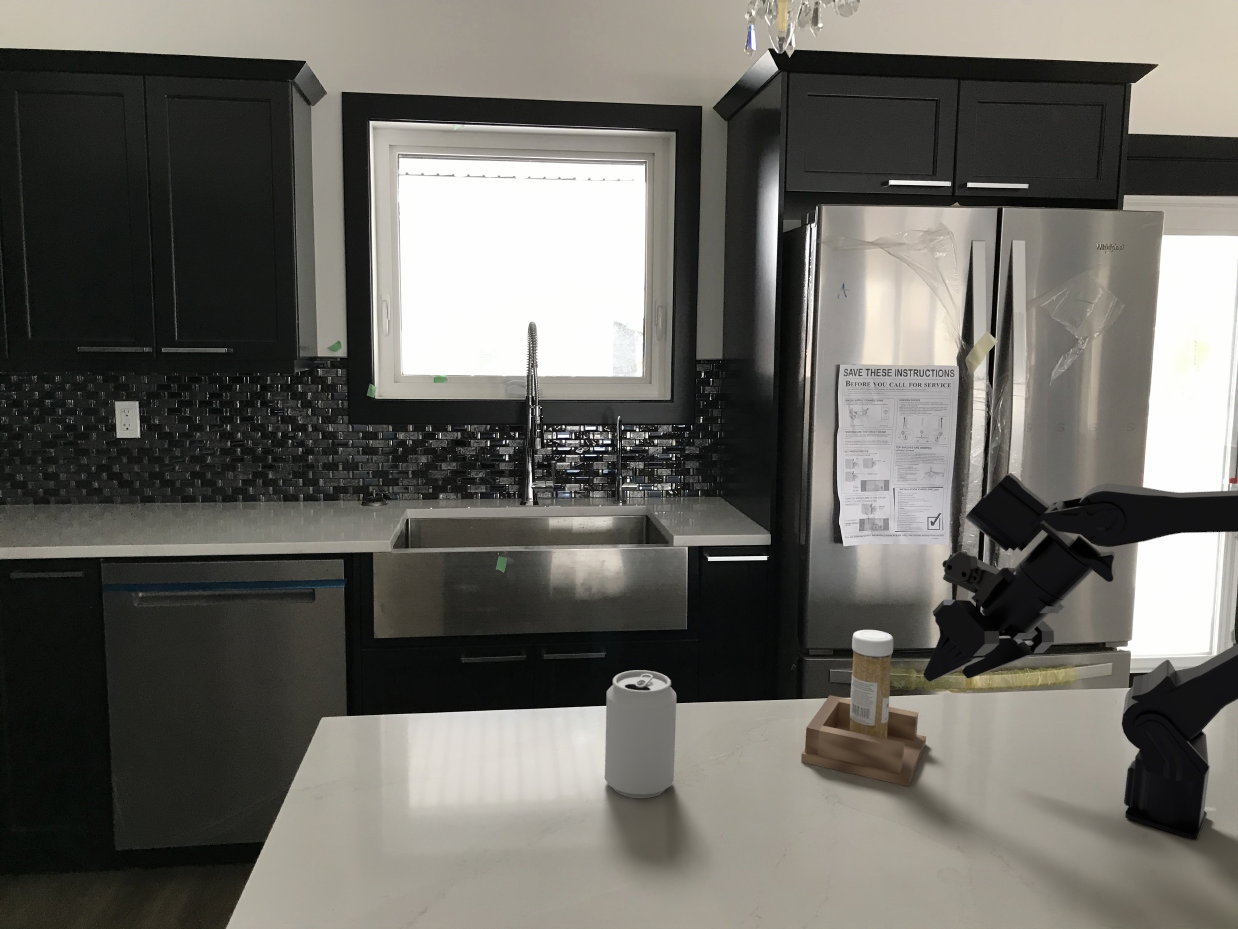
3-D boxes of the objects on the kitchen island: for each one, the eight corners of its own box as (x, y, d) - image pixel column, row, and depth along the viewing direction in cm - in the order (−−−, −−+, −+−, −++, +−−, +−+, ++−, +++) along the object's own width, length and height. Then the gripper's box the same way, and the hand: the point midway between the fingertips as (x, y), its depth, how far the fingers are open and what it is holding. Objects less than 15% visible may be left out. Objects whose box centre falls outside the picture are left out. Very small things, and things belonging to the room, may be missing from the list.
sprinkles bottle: (895, 749, 109) (902, 638, 107) (864, 756, 107) (870, 642, 105) (870, 734, 113) (875, 626, 111) (839, 740, 111) (844, 631, 109)
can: (591, 791, 100) (593, 683, 98) (624, 763, 106) (626, 661, 105) (655, 809, 96) (658, 697, 95) (684, 779, 103) (688, 674, 101)
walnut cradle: (925, 744, 113) (928, 712, 112) (908, 786, 102) (911, 752, 102) (826, 723, 118) (828, 693, 118) (801, 761, 108) (802, 728, 107)
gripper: (1023, 534, 112) (938, 624, 118) (949, 522, 99) (857, 623, 105) (1096, 603, 105) (1001, 694, 111) (1026, 599, 92) (923, 703, 99)
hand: (946, 676), depth 107 cm, fingers open, 9 cm apart
